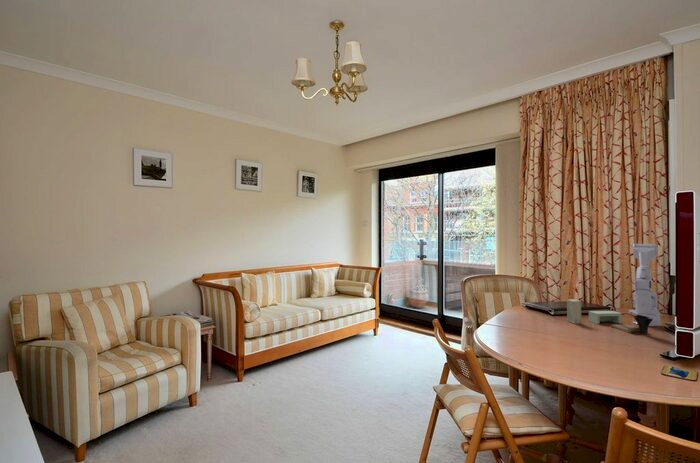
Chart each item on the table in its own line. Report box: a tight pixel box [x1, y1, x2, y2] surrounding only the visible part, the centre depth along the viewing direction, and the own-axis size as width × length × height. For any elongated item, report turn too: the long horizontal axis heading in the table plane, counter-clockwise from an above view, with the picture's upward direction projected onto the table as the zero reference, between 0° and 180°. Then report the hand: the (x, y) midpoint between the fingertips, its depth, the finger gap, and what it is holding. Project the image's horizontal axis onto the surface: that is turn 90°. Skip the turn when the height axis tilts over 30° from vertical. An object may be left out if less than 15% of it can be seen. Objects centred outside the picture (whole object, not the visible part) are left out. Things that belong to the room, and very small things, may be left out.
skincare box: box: [566, 298, 582, 325], centre depth 195 cm, size 6×4×12 cm
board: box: [610, 323, 649, 335], centre depth 180 cm, size 9×12×3 cm
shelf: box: [588, 310, 622, 325], centre depth 196 cm, size 14×6×6 cm, turn 94°
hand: (643, 331), depth 172 cm, fingers closed
